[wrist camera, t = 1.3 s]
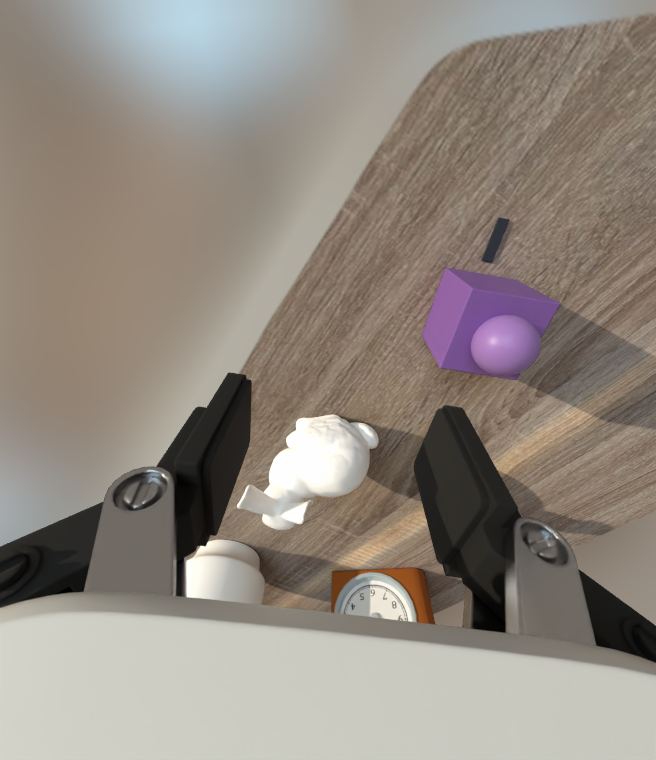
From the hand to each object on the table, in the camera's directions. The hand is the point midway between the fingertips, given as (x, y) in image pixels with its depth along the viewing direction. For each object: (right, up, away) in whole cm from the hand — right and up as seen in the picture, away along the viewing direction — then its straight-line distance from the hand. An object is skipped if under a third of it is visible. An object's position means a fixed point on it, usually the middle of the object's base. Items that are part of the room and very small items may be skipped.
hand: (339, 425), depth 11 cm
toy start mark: (+12, +12, +13) cm, 21 cm away
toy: (+12, +8, +15) cm, 21 cm away
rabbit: (-2, -5, +24) cm, 25 cm away
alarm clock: (+8, -32, +41) cm, 52 cm away
